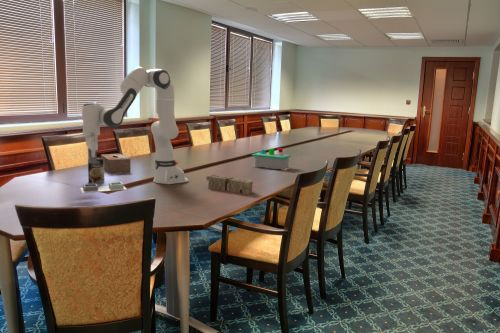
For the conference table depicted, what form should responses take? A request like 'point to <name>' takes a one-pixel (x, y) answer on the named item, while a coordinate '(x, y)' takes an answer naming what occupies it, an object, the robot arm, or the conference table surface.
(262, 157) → the control panel
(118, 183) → the panel
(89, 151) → the plug
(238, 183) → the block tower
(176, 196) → the conference table surface
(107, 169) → the tissue box cover
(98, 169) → the coffee box
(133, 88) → the robot arm
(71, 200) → the conference table surface
